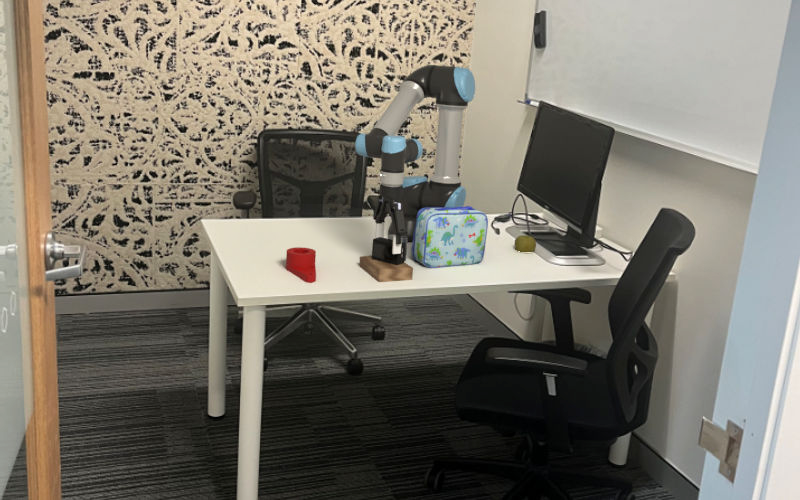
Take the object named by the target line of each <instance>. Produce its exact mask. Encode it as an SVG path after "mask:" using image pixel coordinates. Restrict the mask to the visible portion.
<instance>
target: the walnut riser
mask: <svg viewBox="0 0 800 500" xmlns="http://www.w3.org/2000/svg"><path fill="white" fill-rule="evenodd" d="M358 267H359V268H361V269H362V271H364V272H366V273H367V274H368V275H369V276H371V277H372V278H373V279H374V280H375V281H377V282H378V283H385V282H399V281H412V280H413V276H414V275H413V274H414V267H412V266H411V265H409V264H408V263H406V261H404V263H402V264H399V265H394V264H390V263H386V262H382V261H378V260H374V259H372V255H363V256H359V265H358Z"/></svg>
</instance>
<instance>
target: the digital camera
mask: <svg viewBox="0 0 800 500" xmlns="http://www.w3.org/2000/svg"><path fill="white" fill-rule="evenodd" d="M392 247H393V240H391V239H388V237H387V238H386V237H384V238H382V237H378V238H373V239H372V249H371V256H372V259H374V260H378V261H382V262H386V263H390V264H394V265H399V264H402V263H404V262H405V261H404V260H405V247H406V243H404V242H401V254H392Z"/></svg>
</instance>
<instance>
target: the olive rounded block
mask: <svg viewBox="0 0 800 500" xmlns="http://www.w3.org/2000/svg"><path fill="white" fill-rule="evenodd" d="M536 248H537V242H536V239H535V238H534V236H530V235H526V234H525V235H523V234H522V235H519V236H517V237H516V238H515V240H514V249H515V251H516V250H517V251H516V252H518V251H520V252H519V253H521V252H533V251H534V252H535V250H536ZM534 252H533V253H534Z"/></svg>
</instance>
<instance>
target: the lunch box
mask: <svg viewBox="0 0 800 500" xmlns="http://www.w3.org/2000/svg"><path fill="white" fill-rule="evenodd" d="M488 228H489V218H488V216H487V214H486V213H485V212H483V211H482V210H481V211H480V210H478V209H475V208H473V206H469V205H466V206H463V207H427V208H422V209H420V210H419V212H418V214H417V218H416V225H415V230H414V237H413V241H412V245H411V254H412V258H413V260H414V261H415V262H417V263H420V264H422V265H423V266H424V267H427V268H431V269H439V268H440V269H441V268H448V267H449V268H451V267H460V266H461V267H463V266H474V265H479V264H480V263H482V261H483V259H484V255H485V250H486V241H487V235H488Z"/></svg>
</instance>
